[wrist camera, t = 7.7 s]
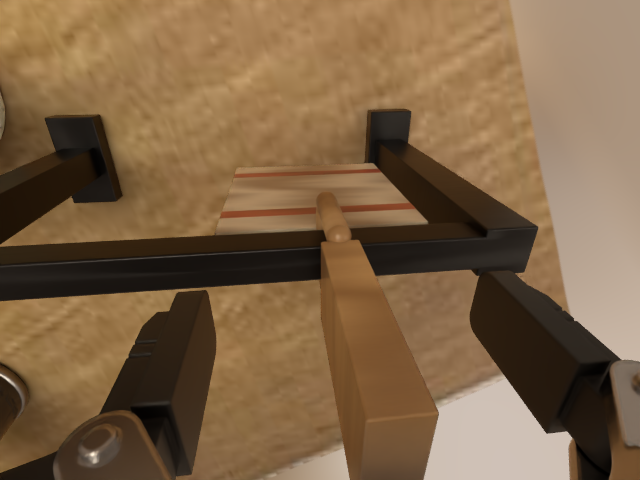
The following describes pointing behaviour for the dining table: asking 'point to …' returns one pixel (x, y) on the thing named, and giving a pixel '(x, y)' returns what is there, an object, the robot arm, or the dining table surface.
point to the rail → (245, 249)
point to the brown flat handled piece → (349, 305)
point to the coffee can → (2, 115)
